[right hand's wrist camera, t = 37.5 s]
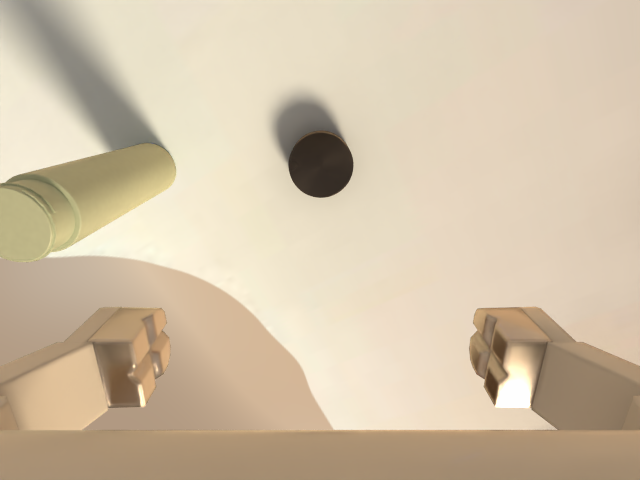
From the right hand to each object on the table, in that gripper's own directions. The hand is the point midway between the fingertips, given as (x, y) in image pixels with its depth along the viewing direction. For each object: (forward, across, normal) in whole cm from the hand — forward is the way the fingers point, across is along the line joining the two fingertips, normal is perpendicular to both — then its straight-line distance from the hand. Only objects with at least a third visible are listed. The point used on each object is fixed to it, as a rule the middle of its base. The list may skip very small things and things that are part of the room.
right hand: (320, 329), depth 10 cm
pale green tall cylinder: (+29, +16, +1) cm, 33 cm away
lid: (+26, 0, 0) cm, 27 cm away
